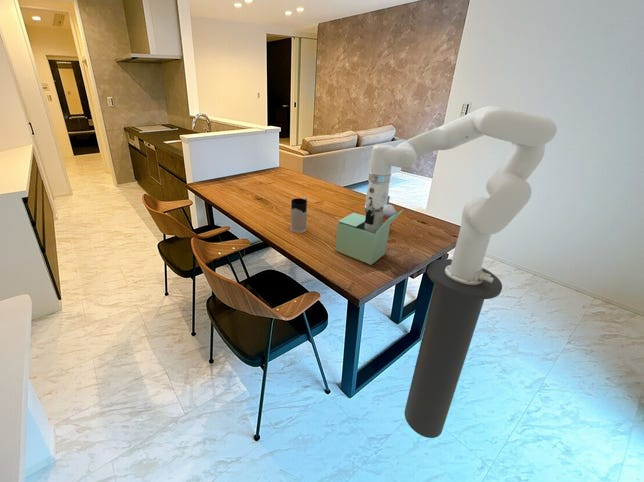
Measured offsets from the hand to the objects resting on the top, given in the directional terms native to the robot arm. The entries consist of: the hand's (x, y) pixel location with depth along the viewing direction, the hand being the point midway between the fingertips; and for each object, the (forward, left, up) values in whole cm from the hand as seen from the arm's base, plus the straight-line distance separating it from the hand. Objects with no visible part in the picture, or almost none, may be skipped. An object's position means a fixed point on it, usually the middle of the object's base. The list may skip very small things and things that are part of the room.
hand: (373, 220), depth 119 cm
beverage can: (0, 0, -7) cm, 7 cm away
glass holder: (+39, -2, -16) cm, 42 cm away
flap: (-6, 0, +2) cm, 7 cm away
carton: (+4, 0, -16) cm, 16 cm away
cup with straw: (+7, -28, -16) cm, 33 cm away
